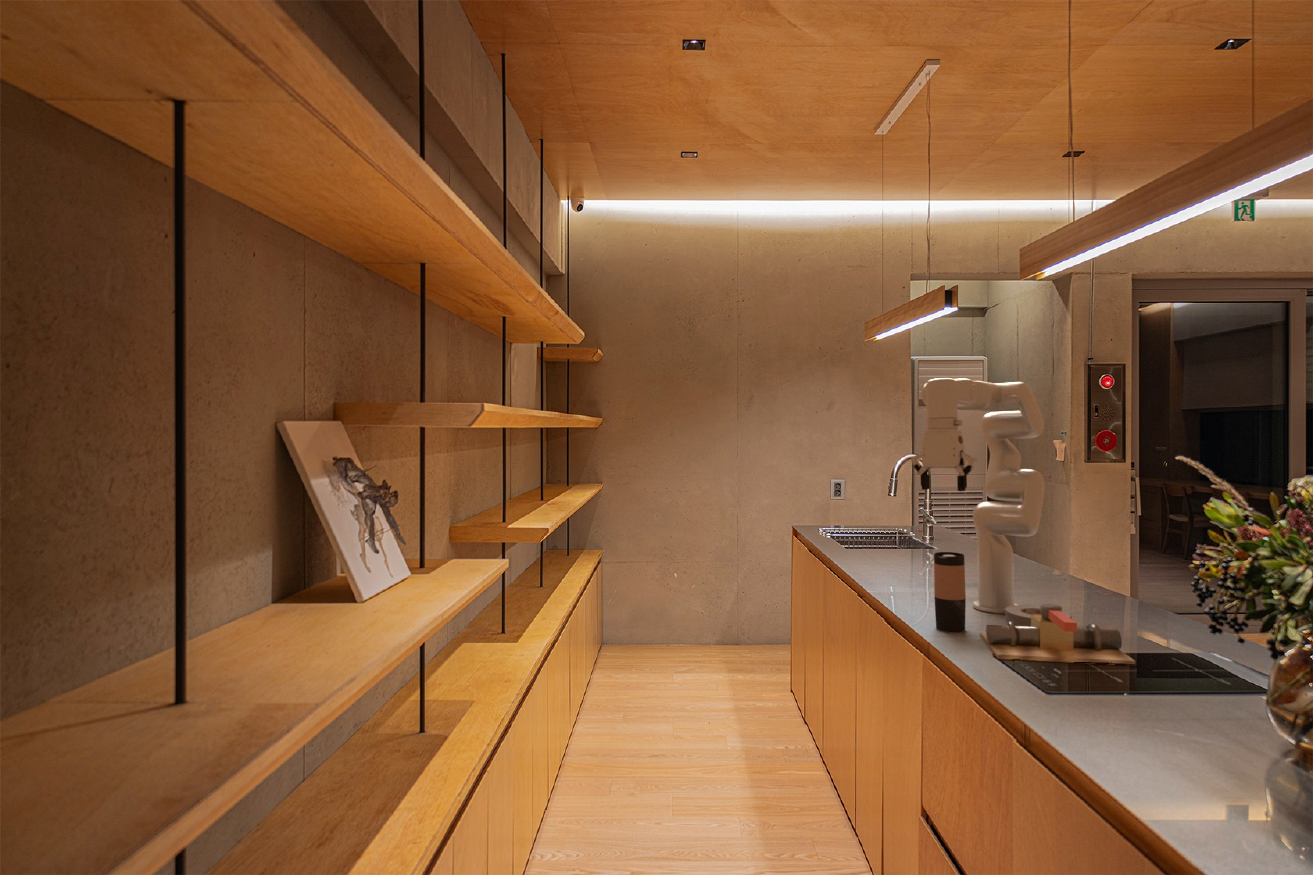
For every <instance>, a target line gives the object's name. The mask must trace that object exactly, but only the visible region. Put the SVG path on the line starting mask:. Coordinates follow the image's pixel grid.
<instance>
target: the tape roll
mask: <svg viewBox="0 0 1313 875" xmlns="http://www.w3.org/2000/svg"><path fill="white" fill-rule="evenodd" d="M1062 612H1063V613H1064V614H1065V615H1067V616H1068V617H1069V618H1071V619H1072V620H1073V618H1072V615H1071V613H1069V612H1067V611H1065V610H1062ZM1004 614H1005V615H1004V623H1005V622H1006V621H1013V622H1014V624H1015V626H1031V614H1035V615H1041V605H1035V604H1033V605H1032V604H1018V605H1013V606H1009V607H1006V608H1005V613H1004Z"/></svg>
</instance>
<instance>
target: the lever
mask: <svg viewBox="0 0 1313 875" xmlns="http://www.w3.org/2000/svg"><path fill="white" fill-rule="evenodd" d="M1040 606H1041V617H1042V618H1045V619H1050V620H1051V621H1052V622H1054V623H1055V624H1056V625H1057V626H1059V627H1060V628H1061V629H1062V630H1064V631H1069V632H1077V628H1078V627H1077V626H1078V624H1077V623H1078V622H1077V621H1075V620H1074V619H1073V618H1072V619H1071V618H1069V617H1068V616H1067V615H1065V614H1064V613H1063V612H1062V609H1063V607H1062V606H1061V605H1057V604H1051V603H1050V604H1049V603H1044V604H1043V603H1042V604H1040Z"/></svg>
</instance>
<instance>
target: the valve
mask: <svg viewBox="0 0 1313 875" xmlns="http://www.w3.org/2000/svg"><path fill="white" fill-rule="evenodd" d="M985 633H986V636H987V641H988V643H990V644H1009V645H1010V646H1011V647H1016V646H1017V645H1036V646H1037V647H1038V648H1039V649H1040V650H1062V651H1074V649H1073V647H1082V648H1092V649H1094V650H1095V651H1101V649H1102V648H1104V649H1119V650H1120V649H1121V648H1122V644H1123V641H1122V640H1123V639H1122V635H1121V633H1120V630H1118V629H1112V628H1110V629H1109V628H1100V627H1099V626H1098V625H1097V624H1095V623H1094V624H1093V623H1092V624H1090V623H1089V624H1087V626H1086V627H1085V628H1083V627H1082V628H1081V627H1077V632H1069V631H1064V630H1062V629H1061V628H1060V627H1059V626H1057V625H1056V624H1055V623H1054V622H1052V621H1051V620H1050V619H1045V618H1042V617H1041V615H1035V614H1031V626H1015V624H1014V622H1013V621H1006V622H1005V621H1004V625H1003V624H987V625H986V628H985Z"/></svg>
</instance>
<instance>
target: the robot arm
mask: <svg viewBox="0 0 1313 875" xmlns="http://www.w3.org/2000/svg"><path fill="white" fill-rule="evenodd" d="M920 395H921V396H920V397H921V400H922V402H923V404H924V405H925V406H926V430H924V432H923V438H922V444H921V445H922V446H921V452H920V453H918V454H916V455H915V456H912V457H911V458H910V461H911V464H912V465H913V468H914V469H915V470H916V471H917V473H918V474H919V475H920V486H921V490H924V491H925V490H929V489H930V487H931V486H930V485H931V482H930V480H931V479H930V478H931V476H930V474H929V471H930V470H931V469H954V470H955V471H956V472H957V473H958V475H957V478H956V479H957V480H956V481H957V483H956V484H957V491H958V492H965V491H966V489H967V487H968V483H967V482H968V481H967V480H968V479H967V476H968V475H969V474H970V473H971V472H972V470H974V467H975V465H976V463H977V461H978V460H977V458H976V457H974V456H972V455H970V454H968V453H966V451H965V450H966V448H965V443H964V442H965V441H964V437H963V433H962V430H961V429H959V427H960V426H963V424H964V422H963V420H962V419H961V420H960V419H959V418H958V411H972V412H973V411H976V412H985V413H986V414H984V415H983V416H982V418H981V422H980V424H981V430H982V434H983V436H984V439H985V440H986V441H985V442H986V444H987V447H988V450H989V461H988V466H987V470H986V471H987V472H986V476H985V480H984V482H985V483H984V492H985V495H986V496H987V497H988V498H990V499H992V500H998V501H990V500H989V501H982V502H979V503H978V504H977V505H975V507H974V508H973V512H972V521H973V524H974V530H975V533H976V534H975V536H976V545H977V546H976V548H977V549H976V550H977V551H976V552H977V554H976V555H977V594H978V595H977V596H978V597H977V598H978V599H977V600H975V601H973V602H972V607H973V608H974V609H976V610H979V611H982V612H987V613H992V614H993V613H994V614H1005V608H1006V607H1009V606H1013V605H1019V604H1018V603H1015V583H1014V582H1015V579H1014V576H1015V574H1014V550H1013V547H1012V544H1011V543H1010V542H1009V540H1008V539H1007V538H1006V536H1014V537H1032V536H1035V535H1036V534H1037V532H1038V530H1039V528H1040V524H1041V523H1040V522H1041V518H1042V510H1043V504H1044V499H1045V491H1046V485H1045V479H1044V477H1043V474H1042V473H1041V471H1040V472H1039V471H1038V470H1035V469H1030V468H1029V469H1028V468H1021V462H1022V455H1021V453H1020V452H1019V449H1017V447H1016V446H1015V445H1014V444H1013V443H1012V442H1011V441H1010V440H1009V439H1034V438H1035V439H1036V438H1038V437H1040V436H1041V435H1042V434H1043V432H1044V428H1045V420H1044V417H1043V414H1042V412H1041V409H1040V406H1039V404H1038V402H1037V399H1036V397H1035V395H1034V393H1033V391H1032V390H1031V388H1030V387H1029V385H1027V384H1026V383H1025V382H1023V381H1014V382H999V383H998V382H997V383H996V382H995V383H994V382H993V383H992V382H989V381H988V382H987V381H981V380H972V379H971V378H963V377H962V378H952V377H951V378H949V377H939V378H938V377H937V378H933V379H932V378H931V379H929V380H927V381H926V383H924V385H923V387H922V389H921V393H920ZM920 460H921V463H922V465H921V464H920V462H919V461H920ZM966 461H967V462H968V463H967V465H966ZM1007 501H1008V502H1007ZM1009 501H1010V502H1009ZM1012 501H1013V502H1012Z"/></svg>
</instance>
